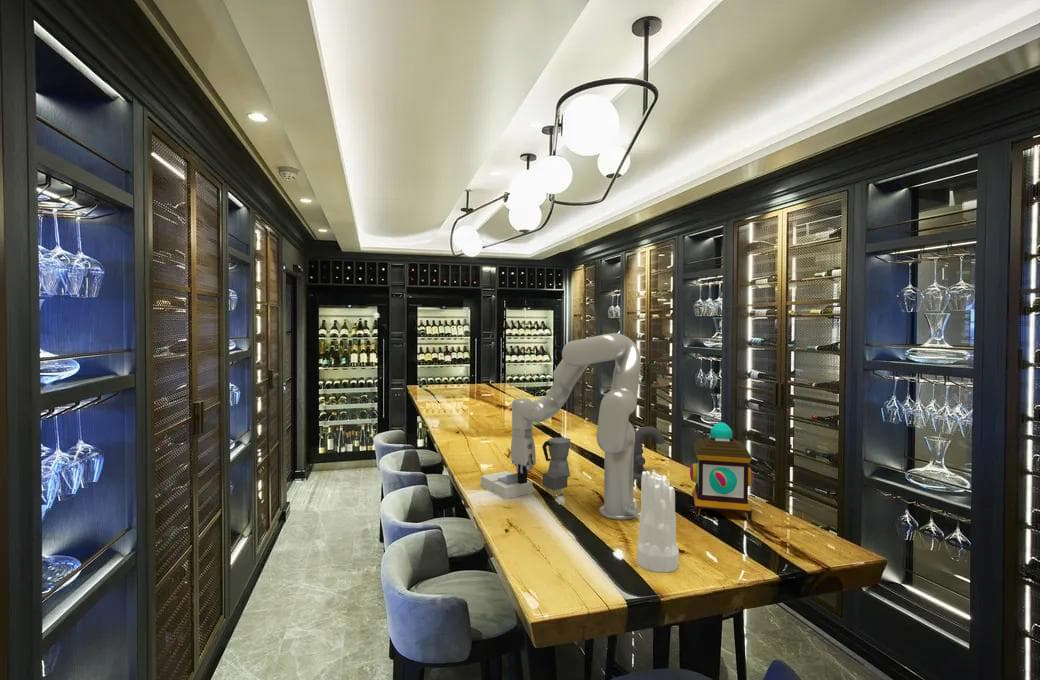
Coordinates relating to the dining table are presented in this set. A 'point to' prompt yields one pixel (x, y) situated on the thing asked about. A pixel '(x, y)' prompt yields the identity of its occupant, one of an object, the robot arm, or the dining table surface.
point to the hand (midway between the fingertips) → (522, 482)
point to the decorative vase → (657, 525)
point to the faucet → (638, 450)
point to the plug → (555, 482)
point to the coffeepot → (557, 454)
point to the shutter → (509, 479)
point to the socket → (504, 485)
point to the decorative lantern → (721, 473)
